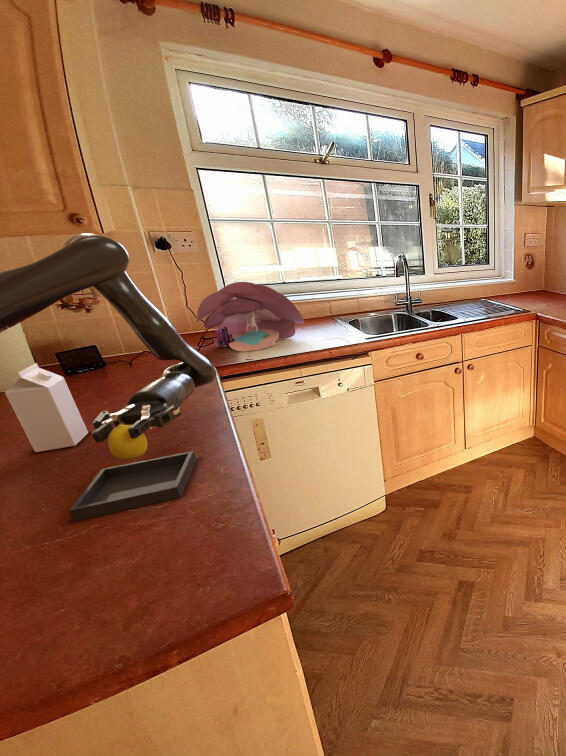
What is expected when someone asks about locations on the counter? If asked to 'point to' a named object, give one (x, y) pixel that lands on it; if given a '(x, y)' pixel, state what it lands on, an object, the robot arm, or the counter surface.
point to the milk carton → (46, 409)
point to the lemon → (126, 444)
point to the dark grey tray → (134, 485)
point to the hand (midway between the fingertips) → (114, 435)
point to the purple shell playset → (249, 316)
